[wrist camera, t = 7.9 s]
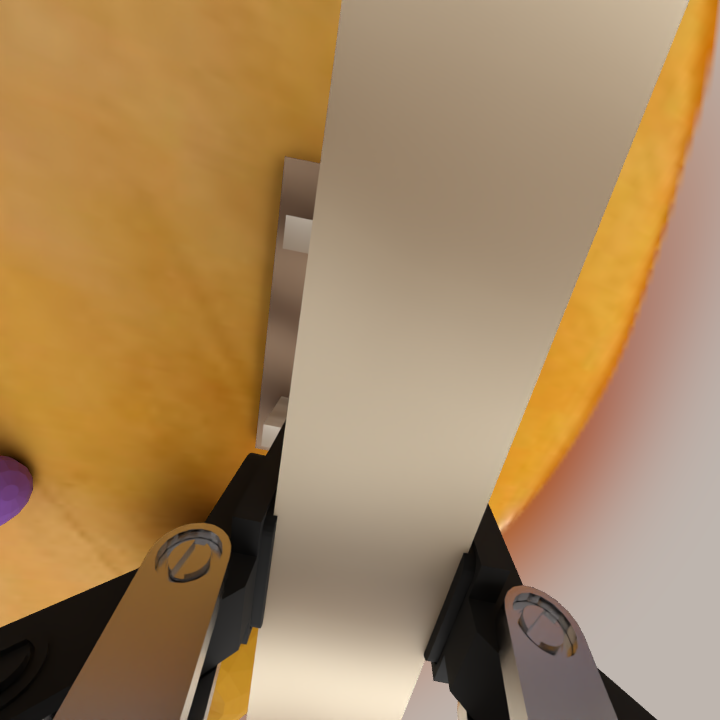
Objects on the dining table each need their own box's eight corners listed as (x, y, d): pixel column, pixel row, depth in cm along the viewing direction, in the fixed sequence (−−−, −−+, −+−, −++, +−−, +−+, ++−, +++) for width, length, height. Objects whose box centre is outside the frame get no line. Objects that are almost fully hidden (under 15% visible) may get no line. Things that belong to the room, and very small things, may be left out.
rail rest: (289, 160, 20) (262, 134, 15) (515, 206, 20) (556, 195, 16) (259, 440, 27) (234, 482, 22) (430, 473, 27) (441, 522, 22)
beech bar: (384, 15, 8) (391, -369, 3) (539, 47, 8) (799, -277, 3) (279, 642, 15) (231, 828, 10) (358, 657, 15) (348, 850, 10)
